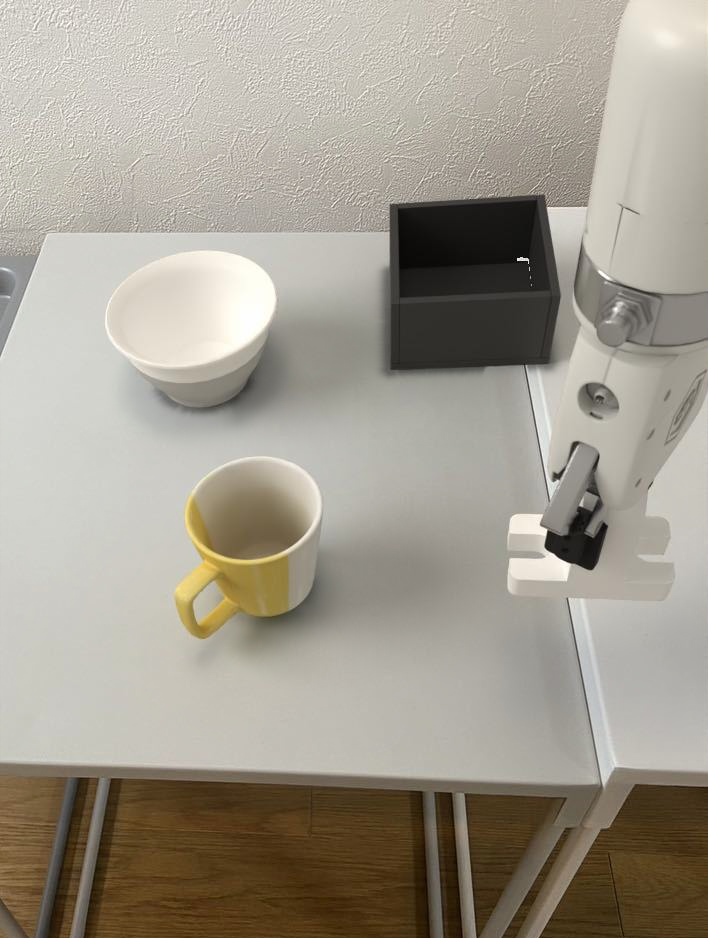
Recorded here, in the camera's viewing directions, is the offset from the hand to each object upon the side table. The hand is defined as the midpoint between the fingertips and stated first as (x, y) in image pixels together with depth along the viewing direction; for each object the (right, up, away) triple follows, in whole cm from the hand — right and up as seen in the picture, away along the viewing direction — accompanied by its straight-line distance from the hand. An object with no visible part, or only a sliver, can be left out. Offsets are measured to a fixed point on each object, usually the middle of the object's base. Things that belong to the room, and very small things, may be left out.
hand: (598, 516), depth 57 cm
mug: (-21, -5, +20) cm, 29 cm away
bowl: (-26, +17, +34) cm, 46 cm away
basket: (-1, +23, +35) cm, 42 cm away
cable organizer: (+1, -3, +4) cm, 5 cm away
